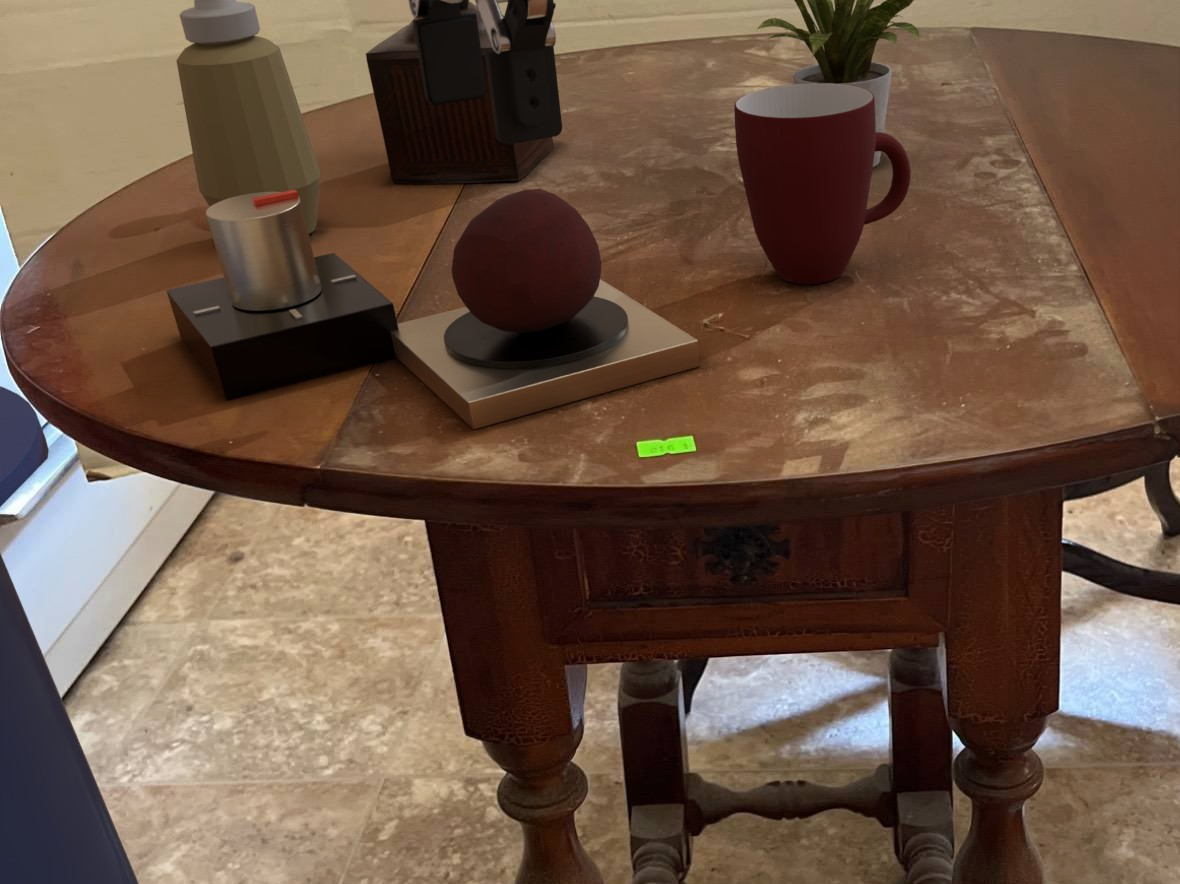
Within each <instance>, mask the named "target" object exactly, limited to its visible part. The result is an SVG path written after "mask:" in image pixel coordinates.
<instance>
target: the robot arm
mask: <svg viewBox="0 0 1180 884" xmlns="http://www.w3.org/2000/svg"><path fill="white" fill-rule="evenodd" d="M469 2H470V0H408V6H409V10H410V13H411V15H412V17H413V19H414V18H422V17H423V18H424V19H418V20H413V19H412V20H413V24H414V31H415V37H416V43H417V50H418V56H419V62H420V69H421V75H422V81H423V88H424V94H425V98H426V100H427V101H428V102H429V103H431V104H433V105H440V104H446V103H453V102H459V101H465V100H472V99H478V98H482V97H484V96H485V94H486V83H485V75H484V68H483V61H482V53H481V46H480V38H479V31H478V24H477V16H476V13H473V12H470V13H463V14H461V12H466V11H467V9H468V4H469ZM474 2H475V5H476V6H477V7H478V10H479V13H480V16H481V18H482V21H483V24H484V26H485V29H486V32H487V34H488V37H489V40H490V42H491V45H492V48H493V50H494V51H488V52H485V59H486V67H487V74H488V82H489V89H490V97H491V104H492V112H493V119H494V127H495V134H496V138H497V139H498V140H499V141H500V142H502V143H504V144H514V143H520V142H526V141H532V140H537V139H543V138H549V137H552V138H554V137H558V136H559V135H560V134H561V133H562V131H563V121H562V112H561V103H560V94H559V93H560V91H559V83H558V75H557V65H556V56H555V48H554V47H555V45H556V42H557V41H556V40H557V38H556V37H557V35H556V29H555V26H554V22H553V16H554V13H555V9H556V2H555V1H554V0H474ZM501 3H507V4H506V9H505V13H504V18H503V16H502V15H503V14H502V11H501V8H500V6H499V4H501Z"/></svg>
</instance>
